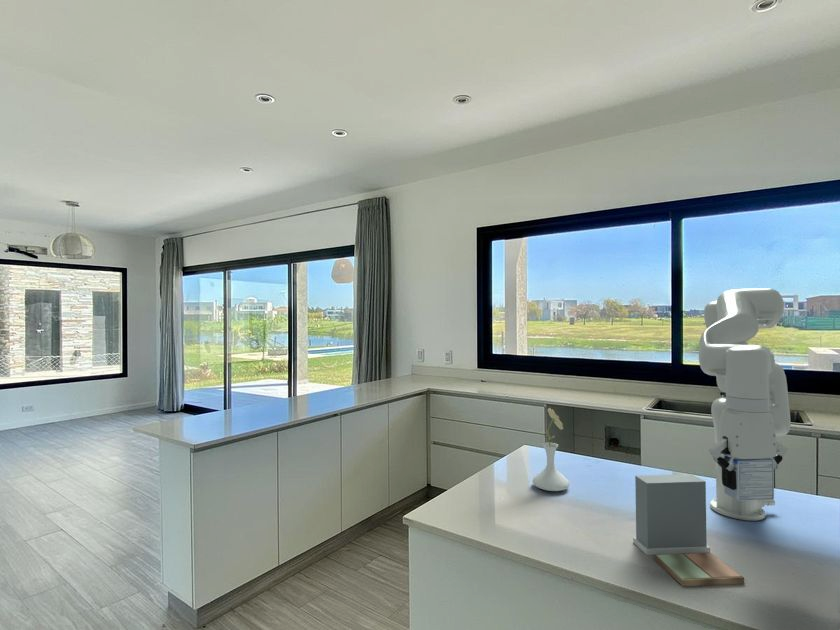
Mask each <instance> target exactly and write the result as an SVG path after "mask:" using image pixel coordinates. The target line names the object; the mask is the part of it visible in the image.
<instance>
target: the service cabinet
mask: <svg viewBox="0 0 840 630" xmlns="http://www.w3.org/2000/svg"><path fill="white" fill-rule="evenodd" d="M634 478H635V485H634V486H635V487H634V488H635V536H633V538H632V542H633V543H634V545H636V546H637V548H639V550H641V551H642V552H643V553H644V554H645V555H646V556H654V554H678V553H703V552H710V553H711V547H710V546H709V545H708V544H707V542H708V541H707V539H708V538H707V496H706V495H707V491H706V490H707V487H706V486H707V484H706V480H704V479H701V478H700V477H698V476H697V475H694V474H692V473H683V474H682V473H681V474H676V473H675V474H647V475H646V474H645V475H644V474H642V475H635V477H634Z"/></svg>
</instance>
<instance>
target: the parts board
mask: <svg viewBox="0 0 840 630" xmlns="http://www.w3.org/2000/svg"><path fill="white" fill-rule="evenodd" d="M653 561H655V562H656V563H657V564H658V565H659V566H660V567H661V568H662V569H663V570H665V572H667V574H668V575H670V576H671V577H672V578H673V577H674V578H675V579H676V580H677V581H678V582H679V583H680V584H681V585H680V584H679V585H680V586H681V587H694V586H695V587H699V586H700V587H701V586H716V585H717V586H718V585H719V586H720V585H723V586H724V585H743V584H745V577H744V576H742V575H741V574H740V573H738V572H737V571H736V570H734V569H733V568H732V567H730V566H729V564H727V563H725V562H724V561H723V560H721V559H720V558H718V557H717V556H715V555H714V554H713V553H712V552H711V551H710V552H703V553H678V554H654V555H653ZM674 578H673V579H674ZM675 579H674V580H675ZM676 580H675V581H676ZM677 581H676V582H677ZM678 582H677V583H678Z"/></svg>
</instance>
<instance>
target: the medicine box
mask: <svg viewBox="0 0 840 630" xmlns="http://www.w3.org/2000/svg"><path fill="white" fill-rule="evenodd" d="M730 459H731V458H729V457H728V462H729V461H730ZM733 470H734V471H736V489H735V490H732V489H730V488H728V487H726V486H724V492H725V494H727V495H729V496H730V497H732V498H734V499H736V500H738V501H746V500H771V499H772V500H773V499H774V500H775V488H774V460H772V459H752V460H735V467H734V468H733Z"/></svg>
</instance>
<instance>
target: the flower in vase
mask: <svg viewBox="0 0 840 630" xmlns="http://www.w3.org/2000/svg"><path fill="white" fill-rule="evenodd" d="M546 412H547V413H548V415H549V417H550V418H551V421H550V423H549V425H548V429H546V431H545V432H546V435H547V440H548V442H543V443H541V445H542V446H543V448H544V450H545V454H546V465H545V468H544V469H542V470H541V471H540V472H539V473H537V474H535V476H533V478H532V484H533V485H534V486H535V487H536V488H539V489H542V491H543V490H544V491H549V492H559V491H565V490H567V489H568V488H569V487H570V481H569V479H568V478H566V476H564V474H562V473H561V472H560V471H559V470H557V469H556V466H555V454H556V451H557V448H558V447H559V444H558V443H555V442H550V441H551V439H554V438H555V437H556V436H555V435H552V436H551V437H550V434H549V432H550V428H551V425H552V423H554V424H555V425H556V427H557V428H558V429H559V430H563V429H564V427H563V426H564V424H563V422H562V421H561V420H560V416H559V415H557V413H556V412H555V410H554V409H551V407H549V408H548V409H547V411H546Z"/></svg>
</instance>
